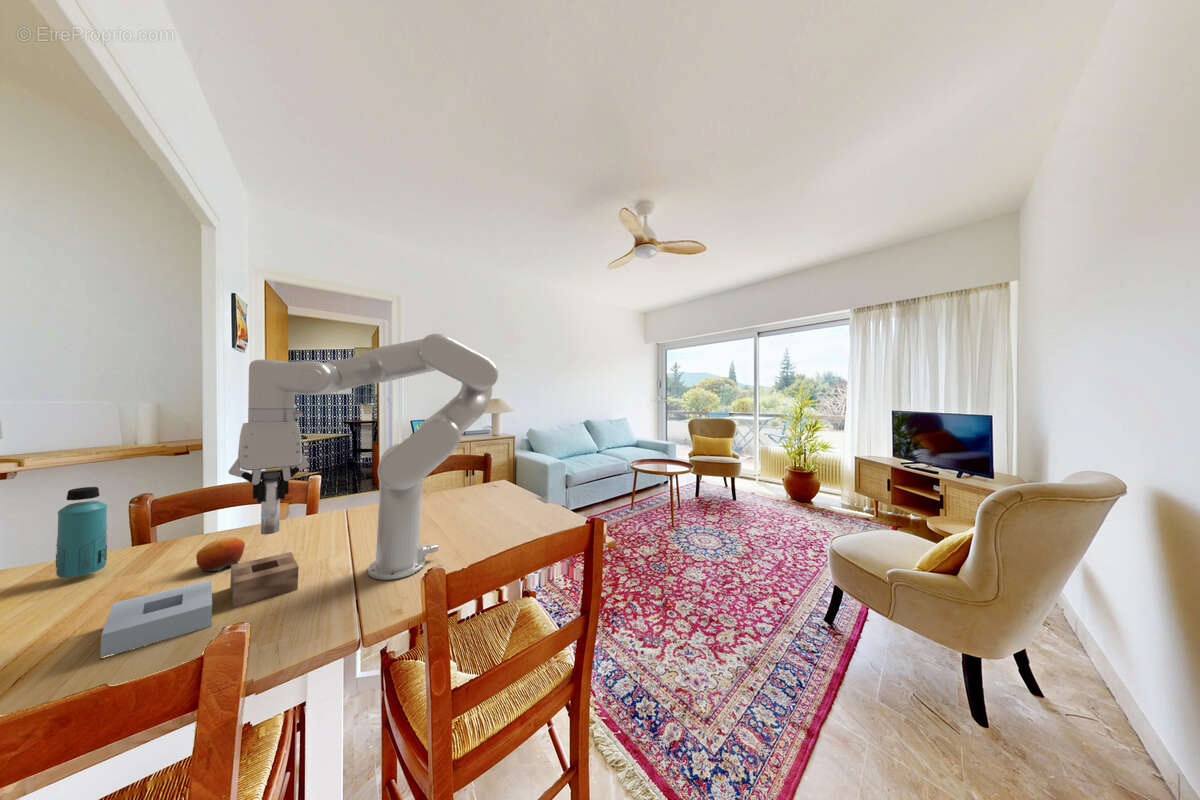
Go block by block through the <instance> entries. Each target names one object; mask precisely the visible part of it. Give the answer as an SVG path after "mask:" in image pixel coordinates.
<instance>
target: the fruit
mask: <svg viewBox="0 0 1200 800" xmlns="http://www.w3.org/2000/svg"><path fill="white" fill-rule="evenodd" d="M245 544H246V543H245V541H244V540H242V538H238V537H236V536H235V537H232V536H231V537H229V536H227V537H223V538H220V539H216V540H214V541H212V542H210V543H208V544H205V545H204V546H203V547H202V548H201V549H200V550H198V551H197V553H196V565H197V566H198V568H199V569H200V570H202V571H205V572H214V571H215V572H218V571H219V572H221V571H222V570H223V569H224V568H227V567H229V566H231V565H235V564H239V563H240V560H241V559H242V556H243V554H244V550H245Z"/></svg>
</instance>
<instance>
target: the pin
mask: <svg viewBox="0 0 1200 800" xmlns="http://www.w3.org/2000/svg"><path fill="white" fill-rule="evenodd" d="M282 477H283V471H282V469H281V468H273V469H263V470H261V476H260V480H261V482H262V484H263V502H261V504H260V505H261V506H260V513H261V514H260V517H261V518H260V534H261V535H271V534H275V533H278V532H280V525H281V524H280V516H281V515H280V514H281V512H280V511H281V510H280V509H281V506H280V505H281V499H280V478H282Z"/></svg>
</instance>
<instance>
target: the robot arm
mask: <svg viewBox="0 0 1200 800" xmlns="http://www.w3.org/2000/svg"><path fill="white" fill-rule="evenodd" d="M434 371H435V372H436V371H438V372H440V373H442V374H444V375H446V376H448V377H449V378H452V379H454V380H456V381H458V382H460V383H461V388H460V391H459V392H458V393H457V394H456V395H455V396H454V397H453V398H452V399H451V400H449V402H448V403H446V404H445V405H444V406H443V407H441V408H440V409H438V411H436V412H435V413H434V414H432V415H431V416H429V417H428V418H426V419H424V421H422V423H420V425H419V427H418V429H417V430H416V431H415V432H413V433H411V435H410V436H409V437H407V438H406V439H405V440H403V441H402V442H400V443H395V444H393V445H391V446H390V447H388V448H387V449H386V450H385V451H384V452H383V454H382V456H381V458H380V461H379V464H378V466H377V476H378V480H379V493H378V495H379V496H378V510H377V511H378V512H377V513H378V514H377V530H376V531H377V532H376V551H375V552H376V553H375V554H376V555H375V556H376V557H375V560H374V561H373V562H371V563H370V565H369V566H368V567H367V568H368V569H367V573H368V576H370V578H373V579H376V580H382V581H383V580H385V581H386V580H387V581H388V580H389V581H390V580H398V579H402V578H405V577H408V576H411V575H413V574H415V572H416V573H417V571H418V570H419V571H421V570H422V569H421V567H422V566H423V565H424V563H425V564H426V557H427V555H428V554H434V553H437V552H438V551H439V545H438V544H436V543H435V544H432V545H430V543H425V544H424V543H423V544H422V545H421V544H420V541H421V540H420V538H421V521H422V520H421V519H422V518H421V517H422V499H423V481H424V480H423V479H425V478H426V477H427V476H428V475H429V474H430V473H432V472H433V471H434V470H435V469H436V468H437V467H438V466H440V465H441V464H442V463H443V462H444V461H446V460H447V459H448V458H449V457H450V456H451V455H452V454H453V453H454V452H455V451H456V449H457V448H458V446H459V444H460V442H461V439H462V438H461V437H462V436H461V435H462V434H464V433H465V432H466V430H468V429H469V428H470V427H471V426H472V425H473V424H474V423H476V422H477V421H478V420H479V419H480V418H481V417H482V415H484V413H485V412H486V410H487V409H488V407H489V405H490V403H491V399H492V394H493V386H494V385H495V384H496V382H497V381H498V378H499V377H498V376H499V371H498V367H497V365H496V364H495V363H494V362H493V361H492V360H491V359H490V358H488V357H486V356H485V355H483V354H481V353H479V352H477V351H475V350H473V349H472V348H469V347H467V346H465V345H464V344H462V343H460V342H459V341H456V340H455V339H453V338H451V337H449V336H447V335H445V334H441V333H430V334H428V335H426V336H425V337H424V338H422V339H421V338H420V339H416V340H411V341H405V342H399V343H395V344H389V345H383V346H379V347H376V348H375V347H374V348H373V349H371V350H369V351H367V352H366V353H365V352H364V353H363V354H361V355H360V354H359V355H356V356H352V357H347V358H344V359H338V360H333V361H328V362H320V361H315V360H314V361H313V360H310V361H309V360H308V361H306V360H305V361H285V360H275V359H255V360H253V361H251V362H250V363H249V365H248V392H247V394H248V403H247V404H248V407H247V422H243V423H242V425H241V429H240V434H239V441H238V442H239V443H238V449H237V450H238V451H237V452H238V454H237V459H236V460H235V461H234V462H233V464H232V465H231V467H230V468H229V469H228V474H229V475H231V476H235V477H238V478H242V479H243V480H246V481H247V482H249V483H251V484H252V500H255V499H256V502H257V504H260V503H261V502H263V484H262V480H260V476H261V471H263V470H272V469H282V471H283V477H282V478H280V500H285V498H286V497H285V496H286V495H289V486H290V485H289V481H290V480H291V478H293V477H294V476H295V475H296V474H298V472H301V471H302V470H304V469H306V468H308V467H310V462H309V461H308V460H307V458H306V457H305V456H304V454H303V448H302V446H303V445H302V436H301V429H300V425H299V422H298V421H295V420H296V419H297V418H300V417H303V416H304V412H303V410H297V409H296V394H302V395H311V396H312V395H313V396H317V395H327V394H332V393H335V392H340V391H345V390H350V389H354V388H359V387H361V386H362V387H363V386H366V385H373V384H378V383H380V384H382V383H386V382H391V381H395V380H396V381H397V380H399V379H403V378H407V377H408V378H409V377H411V376H412V377H413V376H417V375H422V374H426V373H431V372H434ZM249 471H251V472H249ZM424 566H425V565H424ZM419 571H418V572H419Z"/></svg>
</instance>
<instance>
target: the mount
mask: <svg viewBox="0 0 1200 800" xmlns="http://www.w3.org/2000/svg"><path fill="white" fill-rule="evenodd" d="M238 563H239V564H234V565H230V584H229V585H230V587H229V588H230V589H229V590H230V596H231V603H232V609H234V608H236V607H241V606H244V605H247V604H251V603H254V602H258V601H261V600H265V599H268V598H272V597H275V596H279V595H282V594H285V593H286V594H287V593H289V592H292V591H293V592H294V591H297V590H298V589H299V565H298V563H297V561H296V559H295V557H294V555H293V553H292V551H290V552H284V553H280V554H276V555H270V556H267V557H266V556H265V557H262V558H257V559H253V560H248V561H243V562H238Z"/></svg>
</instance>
